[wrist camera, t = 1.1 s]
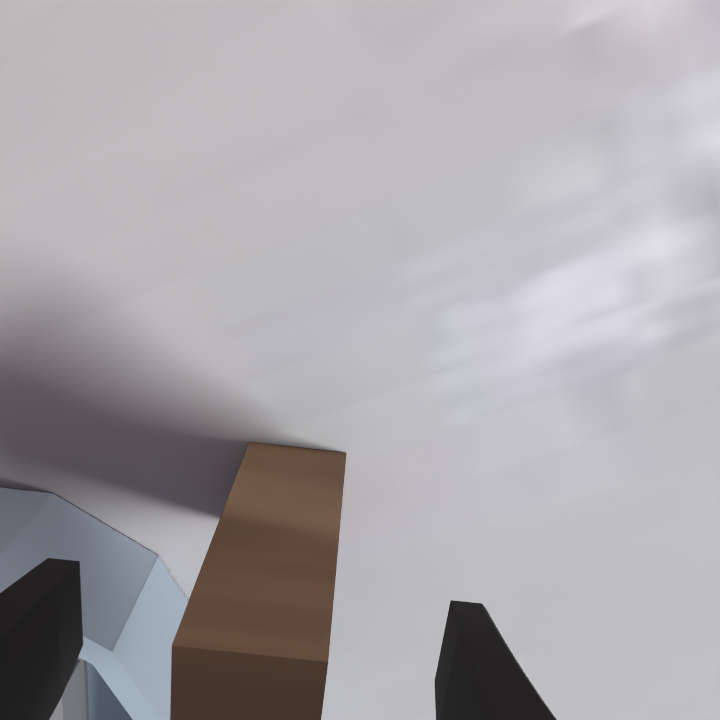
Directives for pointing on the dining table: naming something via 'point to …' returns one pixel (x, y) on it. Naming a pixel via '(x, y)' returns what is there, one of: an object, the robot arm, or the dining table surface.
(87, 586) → the pale blue round tray
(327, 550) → the long wooden beam
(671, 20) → the dining table surface
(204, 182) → the dining table surface
